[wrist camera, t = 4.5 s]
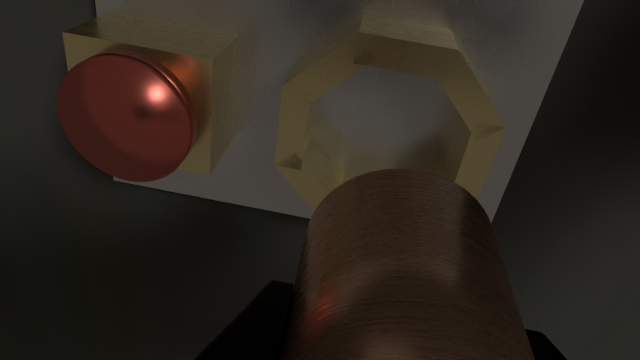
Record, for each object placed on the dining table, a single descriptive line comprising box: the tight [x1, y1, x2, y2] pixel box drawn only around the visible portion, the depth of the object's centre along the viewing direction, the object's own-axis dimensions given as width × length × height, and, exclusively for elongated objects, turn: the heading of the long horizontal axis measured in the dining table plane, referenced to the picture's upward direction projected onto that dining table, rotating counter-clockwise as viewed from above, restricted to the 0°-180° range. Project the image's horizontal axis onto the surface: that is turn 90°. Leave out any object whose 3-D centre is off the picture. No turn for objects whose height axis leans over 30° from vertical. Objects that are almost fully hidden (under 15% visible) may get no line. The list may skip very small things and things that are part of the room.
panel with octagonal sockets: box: [57, 0, 584, 222], centre depth 18 cm, size 17×11×5 cm, turn 82°
